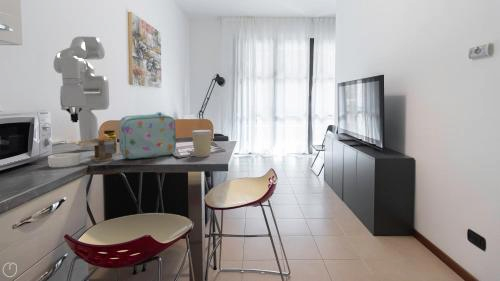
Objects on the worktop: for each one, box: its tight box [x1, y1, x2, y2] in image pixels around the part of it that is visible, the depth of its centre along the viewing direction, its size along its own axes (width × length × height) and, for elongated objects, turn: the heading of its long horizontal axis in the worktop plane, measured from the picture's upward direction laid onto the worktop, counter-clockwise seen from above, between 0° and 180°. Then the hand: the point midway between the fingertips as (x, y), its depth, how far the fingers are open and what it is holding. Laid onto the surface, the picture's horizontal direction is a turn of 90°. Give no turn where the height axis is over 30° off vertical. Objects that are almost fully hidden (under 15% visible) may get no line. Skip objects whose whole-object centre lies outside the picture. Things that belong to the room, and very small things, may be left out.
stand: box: [90, 138, 115, 163], centre depth 169 cm, size 11×8×10 cm
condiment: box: [103, 129, 121, 155], centre depth 189 cm, size 7×8×12 cm
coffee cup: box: [191, 129, 212, 158], centre depth 174 cm, size 9×9×12 cm
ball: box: [100, 133, 109, 140], centre depth 169 cm, size 4×4×4 cm
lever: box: [70, 138, 115, 154], centre depth 171 cm, size 17×15×7 cm
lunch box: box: [118, 111, 177, 160], centre depth 174 cm, size 27×10×21 cm, turn 126°
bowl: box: [47, 152, 82, 169], centre depth 159 cm, size 12×12×4 cm
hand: (74, 122), depth 170 cm, fingers closed
